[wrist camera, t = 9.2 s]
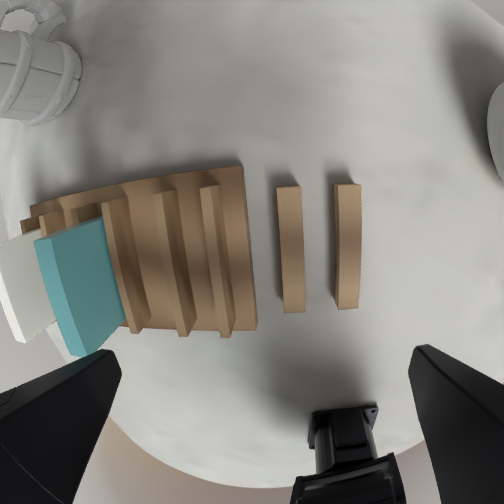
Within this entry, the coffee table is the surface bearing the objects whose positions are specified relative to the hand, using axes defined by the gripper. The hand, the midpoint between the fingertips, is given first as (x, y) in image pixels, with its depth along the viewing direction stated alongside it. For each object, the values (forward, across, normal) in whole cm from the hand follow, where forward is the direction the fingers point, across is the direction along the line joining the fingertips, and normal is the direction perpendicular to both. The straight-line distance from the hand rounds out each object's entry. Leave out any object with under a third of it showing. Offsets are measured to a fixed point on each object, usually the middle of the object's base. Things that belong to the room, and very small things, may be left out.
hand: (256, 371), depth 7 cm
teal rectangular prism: (+11, +11, 0) cm, 15 cm away
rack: (+12, +11, 0) cm, 16 cm away
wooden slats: (+12, -3, 0) cm, 12 cm away
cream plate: (+11, +18, 0) cm, 21 cm away
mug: (+12, +17, -18) cm, 28 cm away
